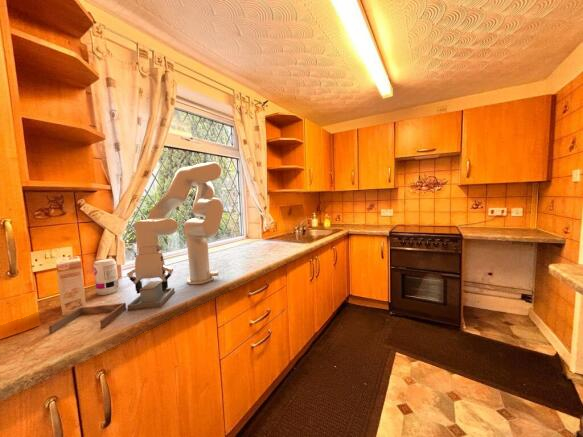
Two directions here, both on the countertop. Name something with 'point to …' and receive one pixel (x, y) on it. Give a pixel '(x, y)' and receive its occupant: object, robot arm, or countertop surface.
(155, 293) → the grey rectangular box
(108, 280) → the supplement can
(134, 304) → the tray
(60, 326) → the frame
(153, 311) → the countertop surface
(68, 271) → the coffeecake box
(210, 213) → the robot arm
